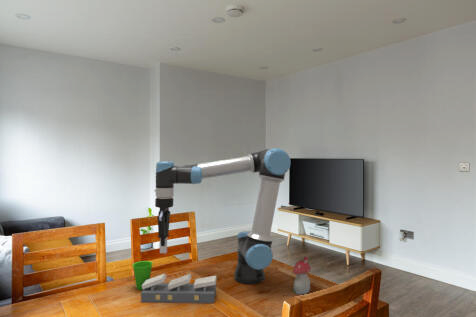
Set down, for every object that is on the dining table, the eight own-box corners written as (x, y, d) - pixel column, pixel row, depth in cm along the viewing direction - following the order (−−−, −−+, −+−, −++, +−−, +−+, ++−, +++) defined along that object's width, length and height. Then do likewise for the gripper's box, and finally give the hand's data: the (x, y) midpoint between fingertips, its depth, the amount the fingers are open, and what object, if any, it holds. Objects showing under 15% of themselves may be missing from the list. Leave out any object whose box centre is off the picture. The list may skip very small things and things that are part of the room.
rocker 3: (216, 279, 136) (216, 275, 136) (215, 284, 130) (214, 280, 130) (196, 282, 137) (195, 279, 137) (194, 288, 131) (193, 284, 131)
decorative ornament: (306, 287, 144) (306, 255, 144) (315, 293, 138) (315, 259, 138) (288, 291, 140) (289, 257, 140) (297, 297, 134) (297, 262, 134)
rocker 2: (191, 277, 137) (190, 273, 137) (189, 282, 131) (187, 279, 131) (172, 283, 137) (171, 280, 137) (168, 289, 131) (167, 286, 131)
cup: (147, 293, 138) (147, 268, 138) (128, 291, 140) (128, 266, 140) (156, 284, 147) (156, 261, 147) (138, 283, 149) (138, 260, 149)
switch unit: (215, 292, 138) (215, 280, 138) (213, 303, 128) (213, 290, 128) (148, 291, 139) (148, 279, 139) (140, 302, 129) (140, 289, 129)
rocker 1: (166, 276, 137) (165, 273, 137) (162, 282, 131) (161, 278, 131) (147, 283, 137) (146, 280, 137) (142, 289, 131) (141, 285, 131)
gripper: (159, 195, 140) (158, 248, 140) (151, 199, 127) (150, 257, 127) (176, 195, 140) (175, 248, 140) (169, 199, 127) (168, 257, 127)
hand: (163, 252), depth 134 cm, fingers closed
